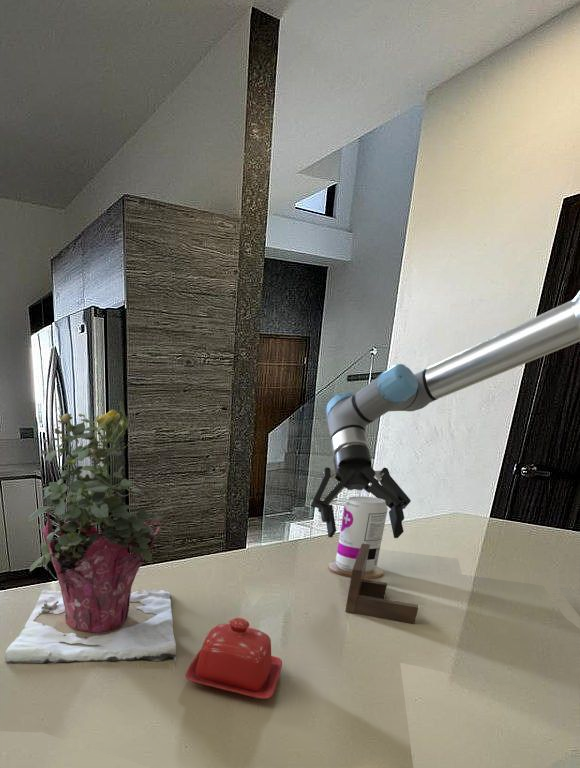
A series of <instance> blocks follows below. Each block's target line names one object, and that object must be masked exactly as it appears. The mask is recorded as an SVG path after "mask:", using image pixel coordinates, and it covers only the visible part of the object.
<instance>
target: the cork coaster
mask: <svg viewBox="0 0 580 768" xmlns="http://www.w3.org/2000/svg"><path fill="white" fill-rule="evenodd" d="M327 569H328V570H329V571H330V572H332V573H334V574H336V575H339V576H342V577H346V578H351V576H352V572H351V571H346V570H343V569H341V568H340V567H338V565H337V564H336V560H333V561H331V562H329V563H328V566H327ZM383 574H384V570H383V568H381V567H380V566H378V565H377V567H376V568H375V569H373V570H372V571H371V572H365V575H364V579H366V580H372V579H377V578H380V577H381V576H382V577H383Z"/></svg>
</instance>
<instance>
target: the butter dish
mask: <svg viewBox="0 0 580 768" xmlns="http://www.w3.org/2000/svg"><path fill="white" fill-rule="evenodd" d="M228 622H229V623H220V624H217V625H214V627H213V628H211V630H210V631H209V632H208V633H207V635H206V637H205V639H204V640H203V643H202V647H201V648H200V650H199V651H198V652H197V654H195V657H194V658H193V659H192V661H191V663H190V665H189V666H188V667H187V670H186V671H185V673H184V678H185V679H186V680H187V681H190V682H192V683H195V684H199V685H204V686H207V687H211V688H216V689H221V690H224V691H227V692H228V691H229V692H232V693H235V694H240V695H244V696H247V697H252V698H255V699H262V700H269V699H271V698H272V697H273V696H274V693H275V690H276V688H277V684H278V682H279V678H280V674H281V671H282V666H283V661H282V659H281V658H280V657H278V656H275V655H272V641H271V637H270V636H269V635H268V634H267V633H265V632H264V631H261V630H259V629H256V628H253V627H250V622H249V621H248V620H247V619H245V618H242V617H234V618H231V619H230V620H229V621H228Z"/></svg>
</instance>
